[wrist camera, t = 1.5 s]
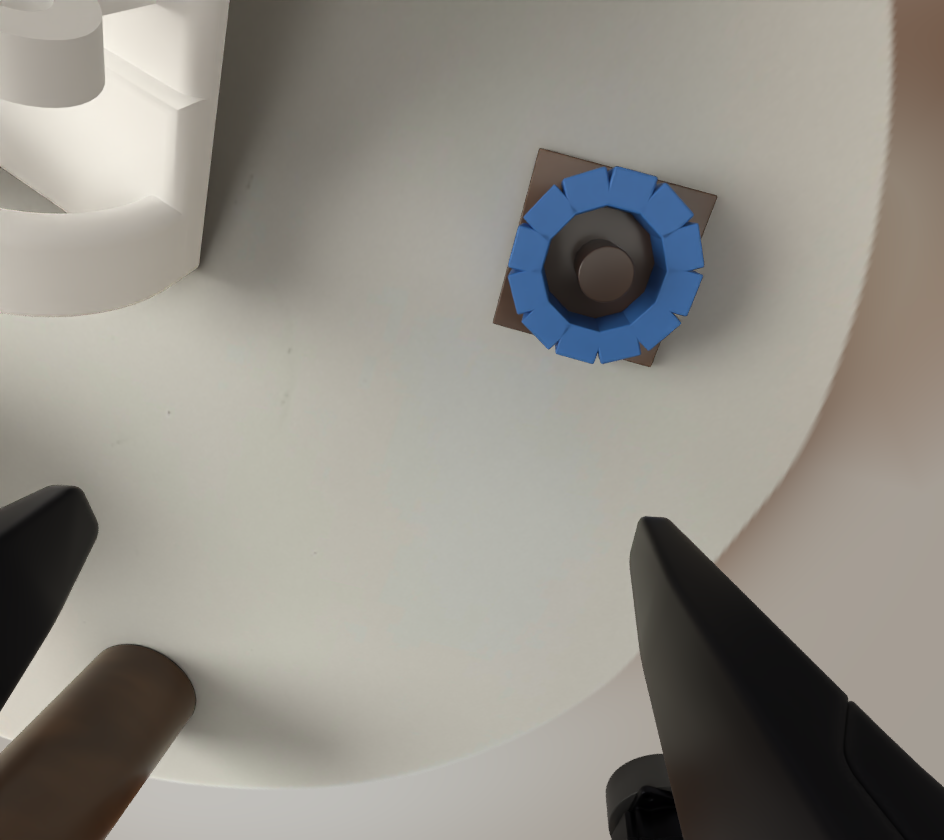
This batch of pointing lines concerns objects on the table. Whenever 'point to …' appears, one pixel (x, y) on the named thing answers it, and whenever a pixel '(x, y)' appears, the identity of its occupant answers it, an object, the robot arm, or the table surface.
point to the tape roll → (666, 285)
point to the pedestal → (93, 747)
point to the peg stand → (595, 250)
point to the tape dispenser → (106, 147)
